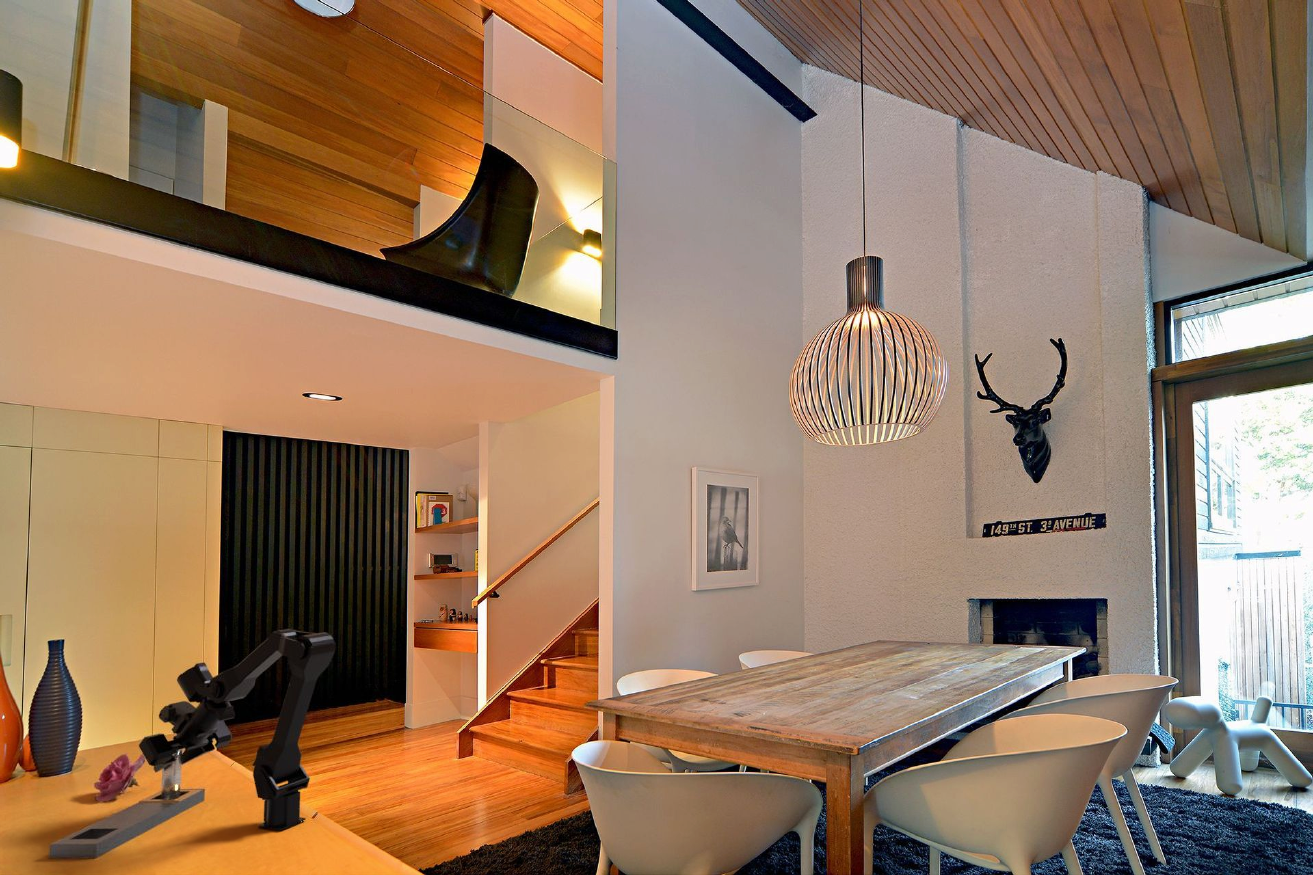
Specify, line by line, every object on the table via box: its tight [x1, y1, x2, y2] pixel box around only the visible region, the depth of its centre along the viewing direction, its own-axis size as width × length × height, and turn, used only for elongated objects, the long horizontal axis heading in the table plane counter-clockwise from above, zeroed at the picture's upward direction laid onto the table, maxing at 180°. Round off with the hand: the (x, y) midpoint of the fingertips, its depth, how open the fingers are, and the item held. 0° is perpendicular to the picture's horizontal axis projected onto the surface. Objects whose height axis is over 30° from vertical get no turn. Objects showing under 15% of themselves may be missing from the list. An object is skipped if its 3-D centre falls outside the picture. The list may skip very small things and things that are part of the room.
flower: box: [93, 753, 146, 803], centre depth 186 cm, size 11×10×10 cm
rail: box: [48, 788, 206, 859], centre depth 164 cm, size 33×9×3 cm, turn 178°
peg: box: [160, 749, 183, 799], centre depth 176 cm, size 4×4×14 cm
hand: (167, 766), depth 177 cm, fingers open, 5 cm apart
